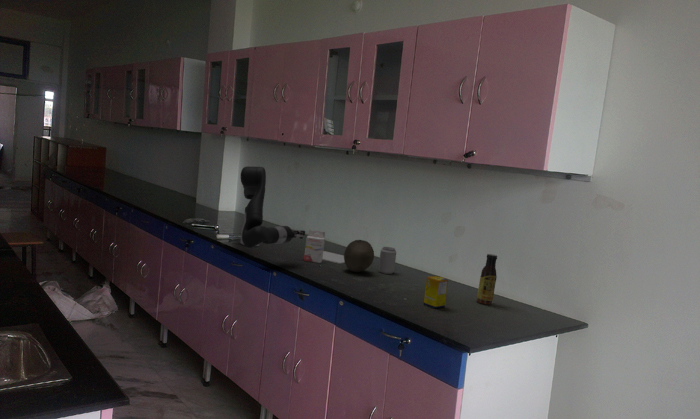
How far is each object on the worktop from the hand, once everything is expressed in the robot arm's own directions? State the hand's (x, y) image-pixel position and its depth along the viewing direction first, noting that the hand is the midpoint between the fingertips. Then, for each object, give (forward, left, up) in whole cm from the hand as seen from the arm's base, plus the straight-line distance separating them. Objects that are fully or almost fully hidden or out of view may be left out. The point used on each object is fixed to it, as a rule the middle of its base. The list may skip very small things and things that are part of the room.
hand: (303, 232), depth 252 cm
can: (+34, +22, -15) cm, 43 cm away
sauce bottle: (+86, +10, -15) cm, 88 cm away
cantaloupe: (+26, +9, -15) cm, 31 cm away
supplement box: (+74, -13, -15) cm, 76 cm away
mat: (0, +26, -14) cm, 30 cm away
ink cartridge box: (0, +10, -15) cm, 18 cm away
